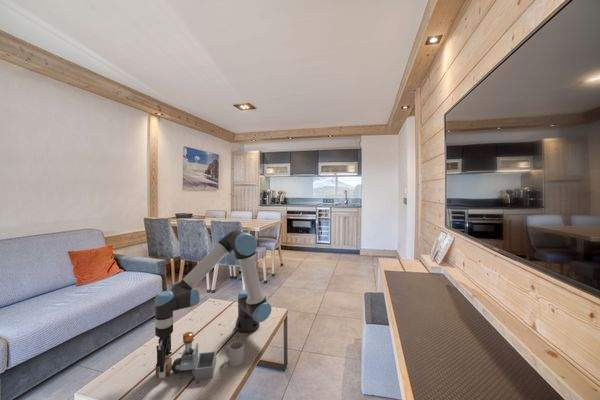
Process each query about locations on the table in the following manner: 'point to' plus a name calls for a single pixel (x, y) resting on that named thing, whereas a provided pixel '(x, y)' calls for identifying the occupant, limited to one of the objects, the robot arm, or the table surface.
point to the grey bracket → (186, 362)
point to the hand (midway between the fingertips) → (164, 372)
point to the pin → (188, 342)
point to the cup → (235, 353)
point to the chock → (168, 367)
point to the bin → (205, 365)
